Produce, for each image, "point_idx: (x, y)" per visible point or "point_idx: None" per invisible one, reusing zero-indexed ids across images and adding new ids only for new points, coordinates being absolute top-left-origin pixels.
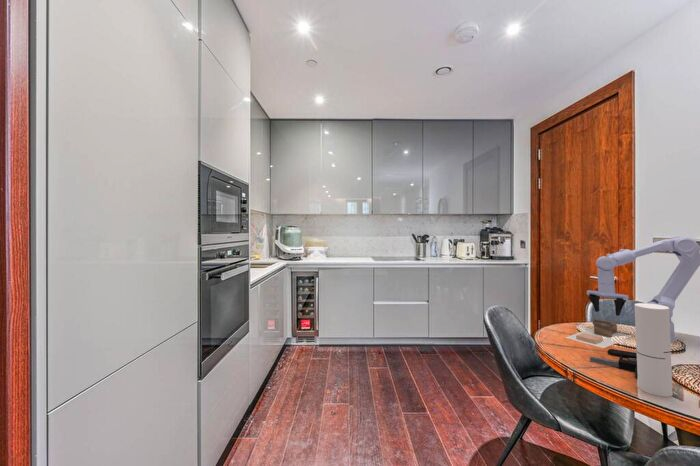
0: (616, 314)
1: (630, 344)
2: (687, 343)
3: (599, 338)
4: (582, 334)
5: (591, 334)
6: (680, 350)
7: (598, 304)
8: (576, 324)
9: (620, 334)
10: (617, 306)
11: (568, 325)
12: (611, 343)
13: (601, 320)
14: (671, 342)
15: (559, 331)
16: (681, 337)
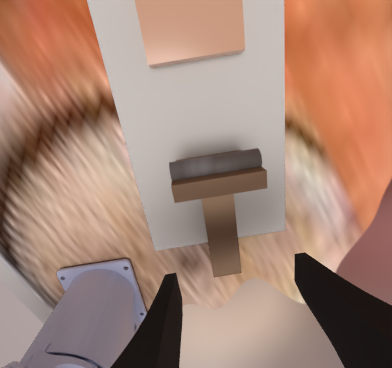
0: (171, 278)
1: (96, 157)
2: None
3: (143, 26)
4: (230, 4)
5: (239, 124)
6: (5, 246)
7: (329, 330)
8: (352, 214)
9: (185, 232)
10: (142, 342)
11: (370, 171)
12: (116, 75)
13: (224, 185)
14: (63, 288)
15: (360, 27)
16: None
